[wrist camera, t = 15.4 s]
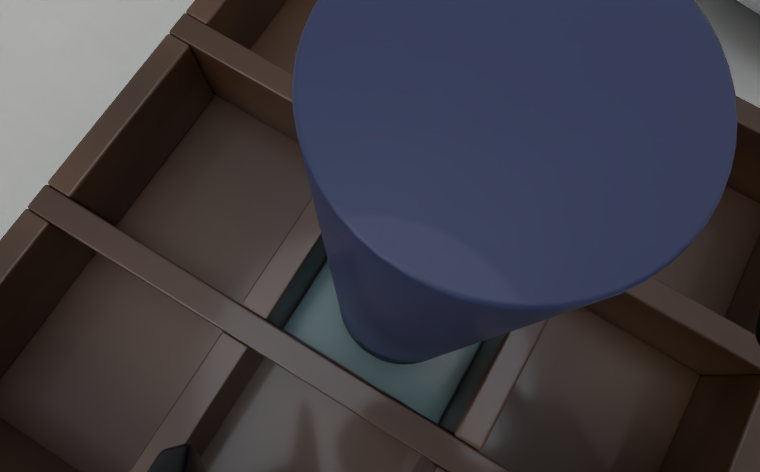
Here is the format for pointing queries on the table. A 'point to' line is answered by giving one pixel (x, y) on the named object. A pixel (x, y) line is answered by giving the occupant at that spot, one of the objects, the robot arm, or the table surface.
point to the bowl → (751, 5)
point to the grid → (329, 308)
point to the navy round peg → (505, 157)
